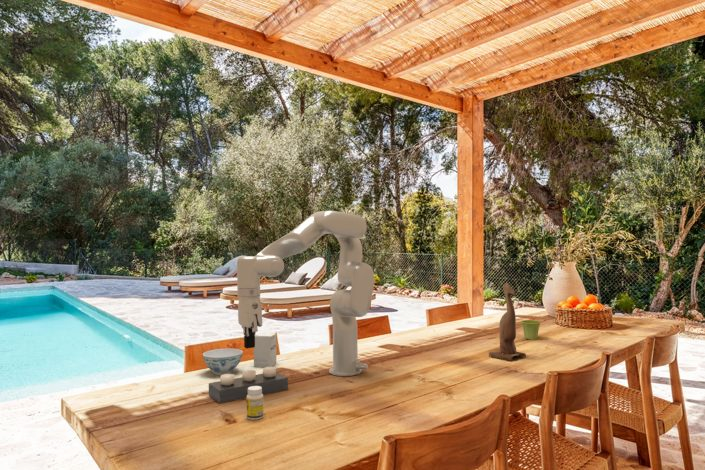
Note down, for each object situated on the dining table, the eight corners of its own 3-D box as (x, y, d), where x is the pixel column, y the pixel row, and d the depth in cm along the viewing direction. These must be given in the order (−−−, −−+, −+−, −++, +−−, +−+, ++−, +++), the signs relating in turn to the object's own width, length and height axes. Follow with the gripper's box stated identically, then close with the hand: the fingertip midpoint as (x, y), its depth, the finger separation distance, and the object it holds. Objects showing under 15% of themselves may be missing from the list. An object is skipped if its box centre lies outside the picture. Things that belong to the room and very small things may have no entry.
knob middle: (252, 385, 166) (252, 369, 166) (257, 389, 162) (257, 372, 162) (240, 388, 163) (240, 371, 163) (245, 391, 160) (245, 374, 160)
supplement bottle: (247, 414, 142) (247, 385, 142) (264, 413, 142) (264, 385, 142) (245, 420, 137) (245, 390, 137) (262, 419, 137) (262, 390, 137)
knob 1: (231, 390, 161) (231, 373, 161) (236, 393, 158) (236, 375, 158) (218, 392, 159) (218, 375, 159) (223, 395, 155) (223, 378, 155)
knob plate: (274, 382, 174) (274, 371, 174) (288, 389, 165) (287, 377, 165) (208, 395, 160) (208, 383, 160) (219, 403, 152) (219, 390, 152)
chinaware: (230, 365, 198) (230, 346, 198) (250, 372, 188) (250, 352, 188) (195, 372, 188) (195, 352, 188) (215, 380, 177) (214, 359, 177)
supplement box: (270, 368, 194) (270, 336, 194) (253, 367, 196) (253, 335, 196) (277, 363, 201) (276, 332, 202) (260, 362, 203) (260, 332, 203)
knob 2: (272, 382, 170) (272, 366, 170) (278, 385, 166) (278, 368, 166) (260, 384, 167) (260, 368, 168) (266, 387, 164) (266, 370, 164)
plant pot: (543, 340, 242) (543, 323, 242) (524, 340, 242) (524, 323, 242) (536, 336, 251) (536, 320, 252) (518, 336, 252) (518, 320, 252)
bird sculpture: (512, 363, 200) (514, 285, 200) (488, 357, 208) (489, 282, 208) (526, 358, 207) (528, 283, 207) (502, 353, 216) (503, 281, 216)
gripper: (268, 293, 159) (269, 349, 159) (250, 290, 172) (251, 342, 171) (247, 295, 155) (248, 353, 155) (229, 292, 167) (230, 345, 167)
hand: (249, 347), depth 163 cm, fingers closed
